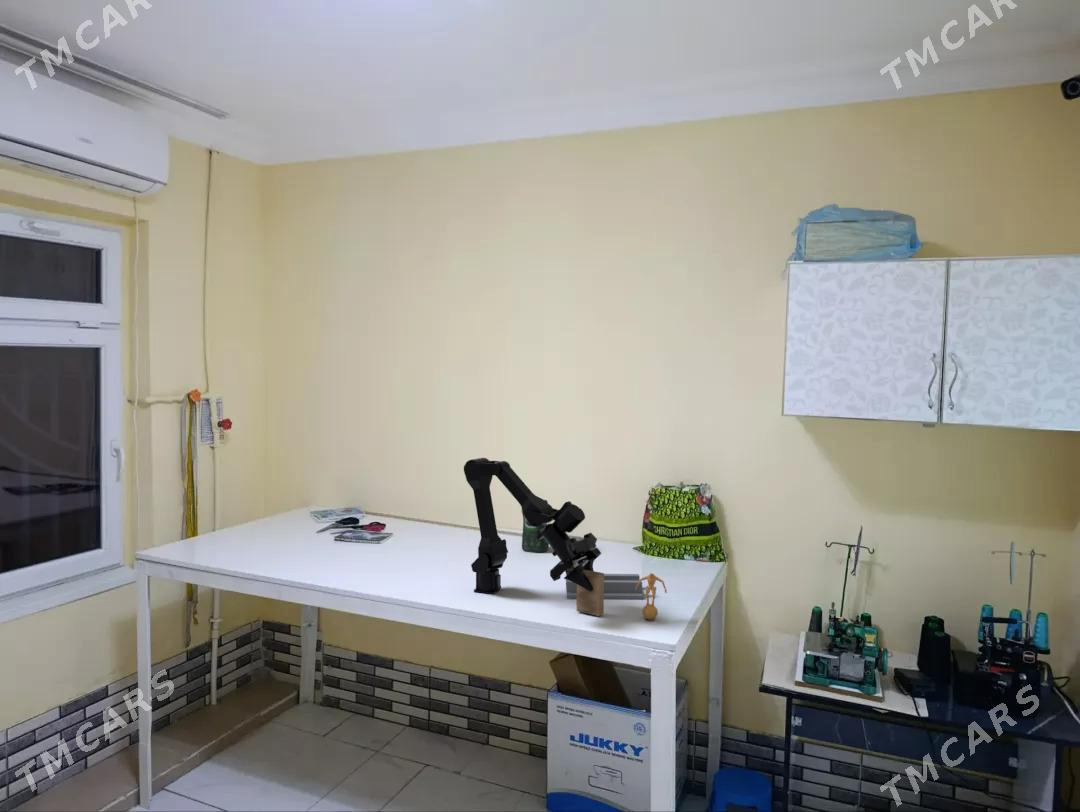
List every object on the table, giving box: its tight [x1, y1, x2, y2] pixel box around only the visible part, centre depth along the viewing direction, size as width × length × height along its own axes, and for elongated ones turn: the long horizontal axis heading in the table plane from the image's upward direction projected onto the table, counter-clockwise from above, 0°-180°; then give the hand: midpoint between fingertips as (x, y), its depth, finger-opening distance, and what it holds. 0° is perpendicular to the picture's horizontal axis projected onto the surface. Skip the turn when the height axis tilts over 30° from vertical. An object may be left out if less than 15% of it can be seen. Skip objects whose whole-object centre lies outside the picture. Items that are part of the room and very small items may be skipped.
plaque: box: [576, 569, 605, 617], centre depth 194 cm, size 7×2×11 cm, turn 56°
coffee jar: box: [520, 499, 550, 553], centre depth 260 cm, size 10×8×19 cm
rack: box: [565, 573, 644, 600], centre depth 214 cm, size 22×14×4 cm, turn 89°
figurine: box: [635, 572, 667, 621], centre depth 191 cm, size 8×6×12 cm
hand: (594, 589), depth 194 cm, fingers closed on plaque, 2 cm apart
